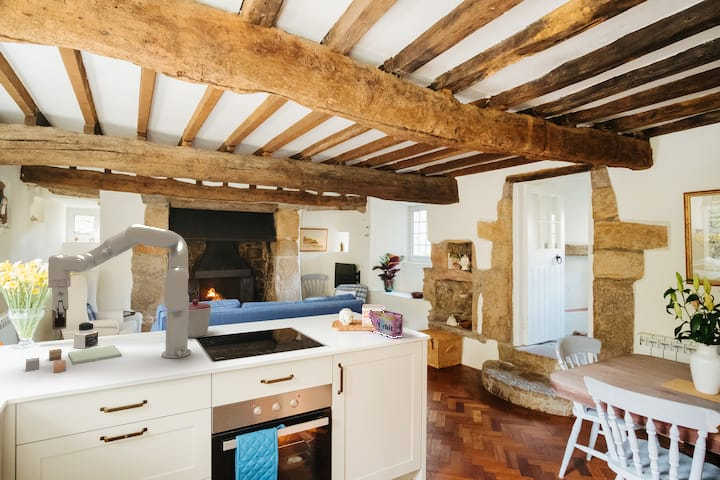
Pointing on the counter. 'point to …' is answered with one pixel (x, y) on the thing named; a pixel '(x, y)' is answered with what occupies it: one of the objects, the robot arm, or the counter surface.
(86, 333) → the medicine bottle
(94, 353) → the sage board
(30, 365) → the stone cube
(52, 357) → the oak cube
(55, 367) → the terracotta cylinder
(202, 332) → the canister
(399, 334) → the gum box
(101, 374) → the counter surface
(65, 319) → the walnut block
